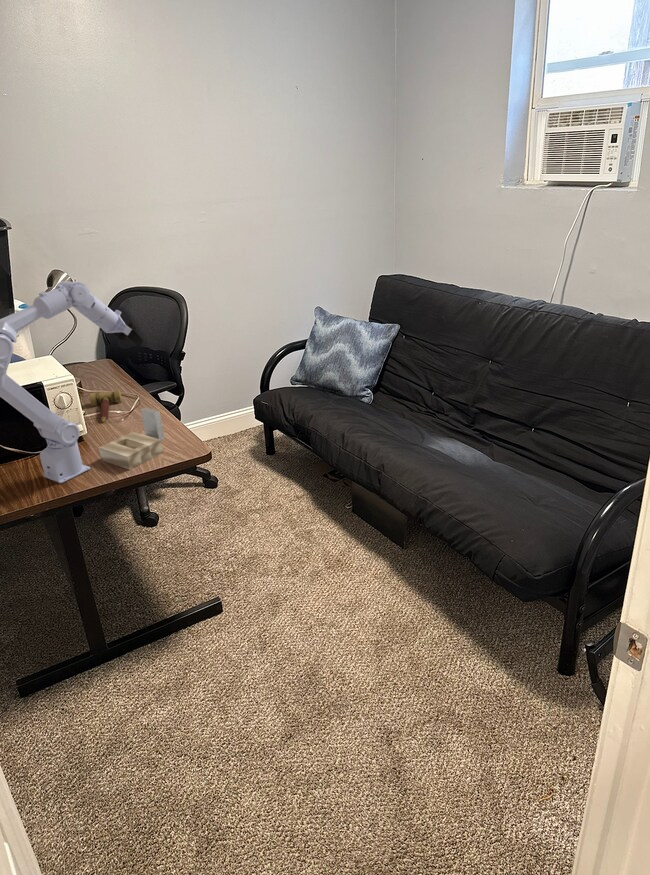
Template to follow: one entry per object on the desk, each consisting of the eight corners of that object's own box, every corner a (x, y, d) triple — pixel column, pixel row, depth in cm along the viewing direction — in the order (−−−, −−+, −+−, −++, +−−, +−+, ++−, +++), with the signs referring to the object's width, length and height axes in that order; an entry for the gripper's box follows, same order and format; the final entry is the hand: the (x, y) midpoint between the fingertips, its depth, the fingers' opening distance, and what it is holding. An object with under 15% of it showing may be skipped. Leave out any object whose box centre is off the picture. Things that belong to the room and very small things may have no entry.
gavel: (117, 412, 196) (85, 417, 194) (120, 425, 199) (88, 429, 196) (119, 387, 214) (90, 391, 212) (122, 399, 216) (92, 403, 214)
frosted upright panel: (159, 440, 182) (154, 413, 178) (145, 437, 185) (140, 409, 181) (164, 438, 183) (159, 410, 180) (150, 434, 187) (145, 407, 183)
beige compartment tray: (130, 469, 166) (127, 456, 164) (101, 460, 172) (98, 447, 170) (163, 452, 175) (160, 439, 173) (135, 443, 181) (132, 431, 179)
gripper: (121, 307, 160) (155, 334, 171) (92, 295, 168) (126, 322, 179) (106, 329, 159) (141, 355, 170) (78, 316, 167) (113, 341, 178)
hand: (133, 339), depth 175 cm, fingers open, 7 cm apart
